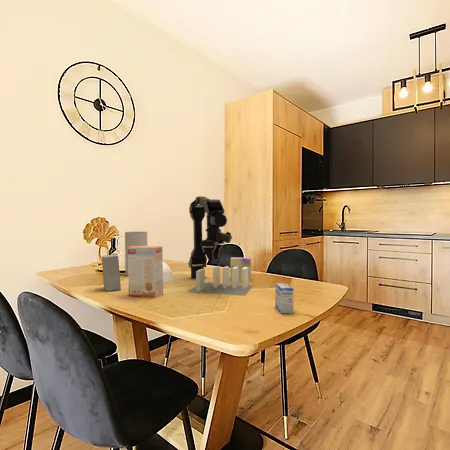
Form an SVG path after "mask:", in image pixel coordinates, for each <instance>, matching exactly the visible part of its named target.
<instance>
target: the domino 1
mask: <svg viewBox="0 0 450 450" xmlns="http://www.w3.org/2000/svg"><path fill="white" fill-rule="evenodd" d="M204 270H205V268H204V269H200V270H198V271H196V279H195V287H196V292H201V291H202V290H204V283H205V277H204Z"/></svg>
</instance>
